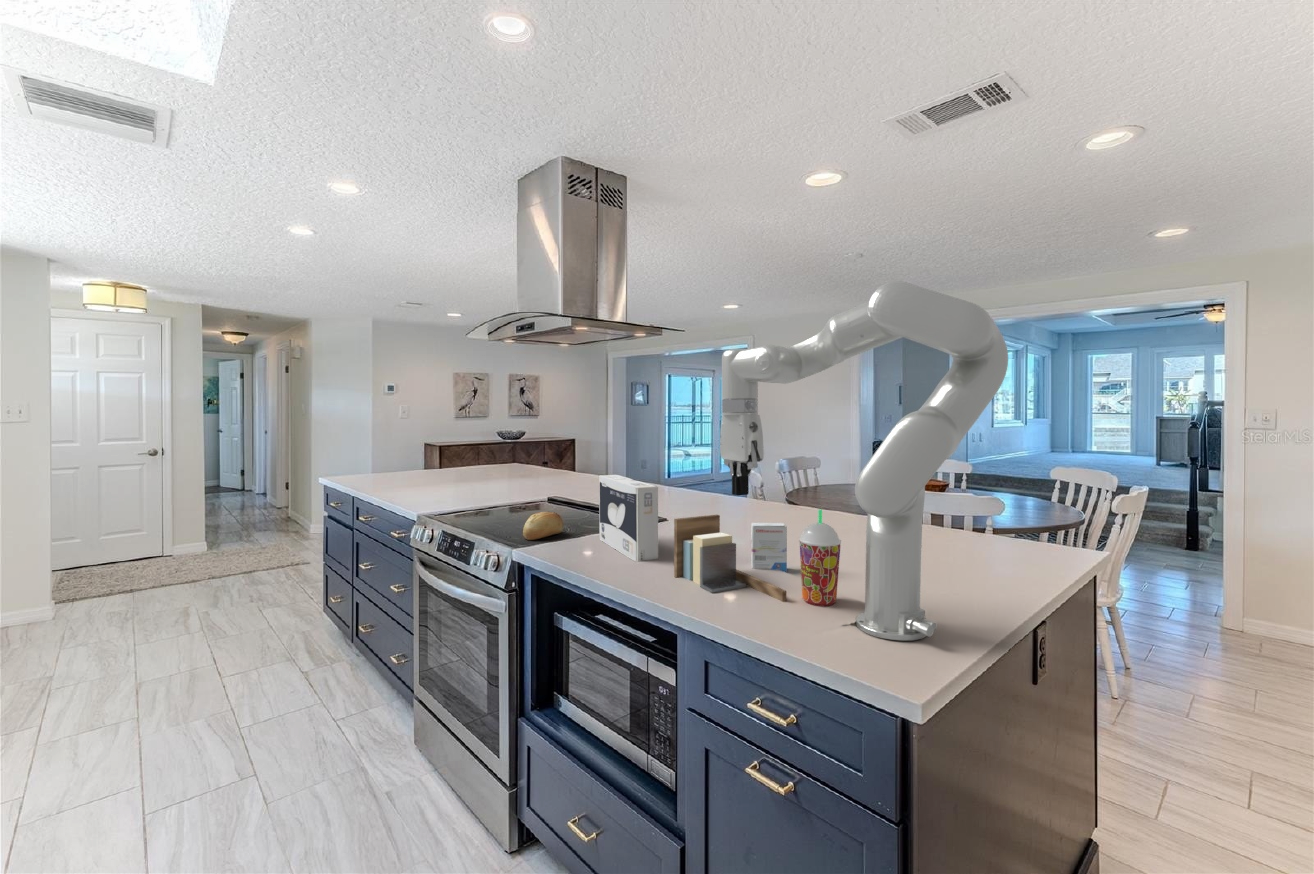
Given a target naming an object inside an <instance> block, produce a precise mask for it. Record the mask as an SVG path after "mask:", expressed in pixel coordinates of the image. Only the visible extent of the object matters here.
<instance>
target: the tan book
mask: <svg viewBox="0 0 1314 874" xmlns="http://www.w3.org/2000/svg"><path fill="white" fill-rule="evenodd" d="M728 543H733V535H732V534H729V533H726V532H720V533H713V534H704V535H696V536H693V580H692V582H693V583H694V584H696V585H698V586H700V547H705V546H712V545H720V544H728Z"/></svg>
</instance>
